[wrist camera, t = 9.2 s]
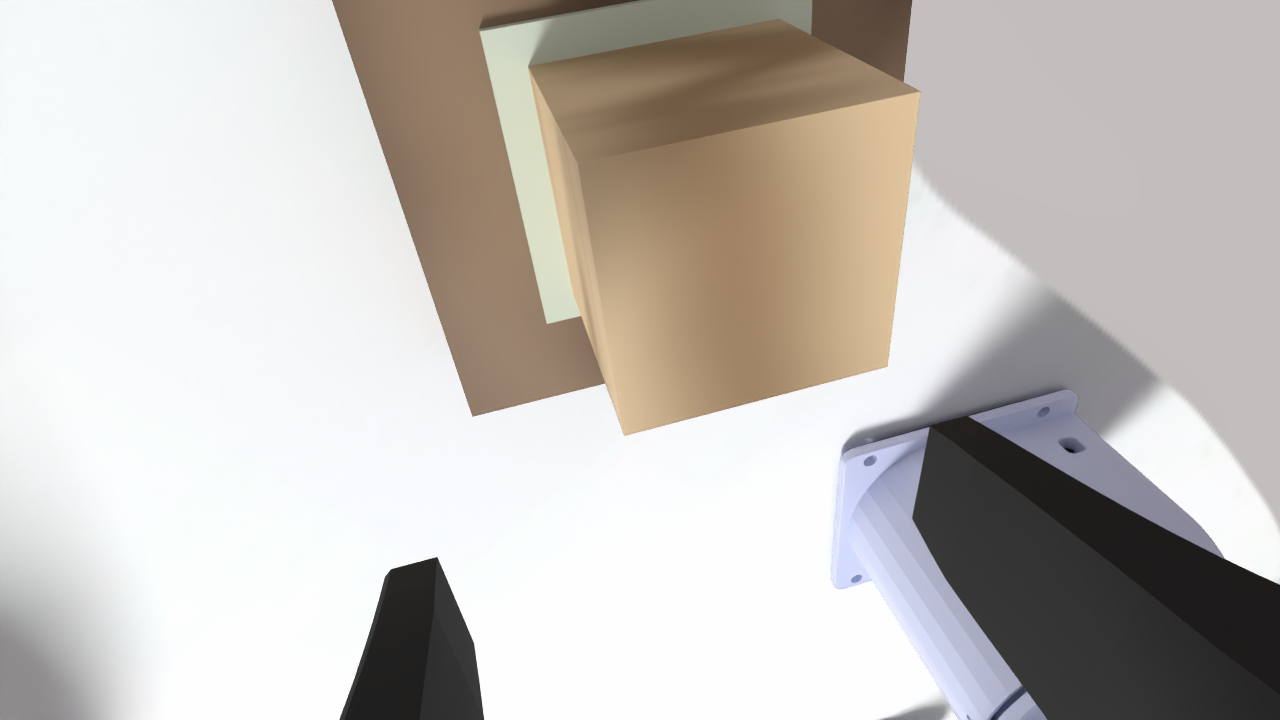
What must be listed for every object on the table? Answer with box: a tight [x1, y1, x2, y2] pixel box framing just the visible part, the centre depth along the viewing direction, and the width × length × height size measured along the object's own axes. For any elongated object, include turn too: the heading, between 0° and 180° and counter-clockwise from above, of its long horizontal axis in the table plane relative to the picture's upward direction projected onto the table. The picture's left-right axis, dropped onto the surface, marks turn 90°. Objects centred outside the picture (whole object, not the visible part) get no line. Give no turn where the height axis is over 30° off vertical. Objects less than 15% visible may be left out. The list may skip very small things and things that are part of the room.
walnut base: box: [332, 0, 912, 416], centre depth 16 cm, size 11×11×3 cm
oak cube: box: [528, 19, 921, 436], centre depth 14 cm, size 5×5×5 cm
